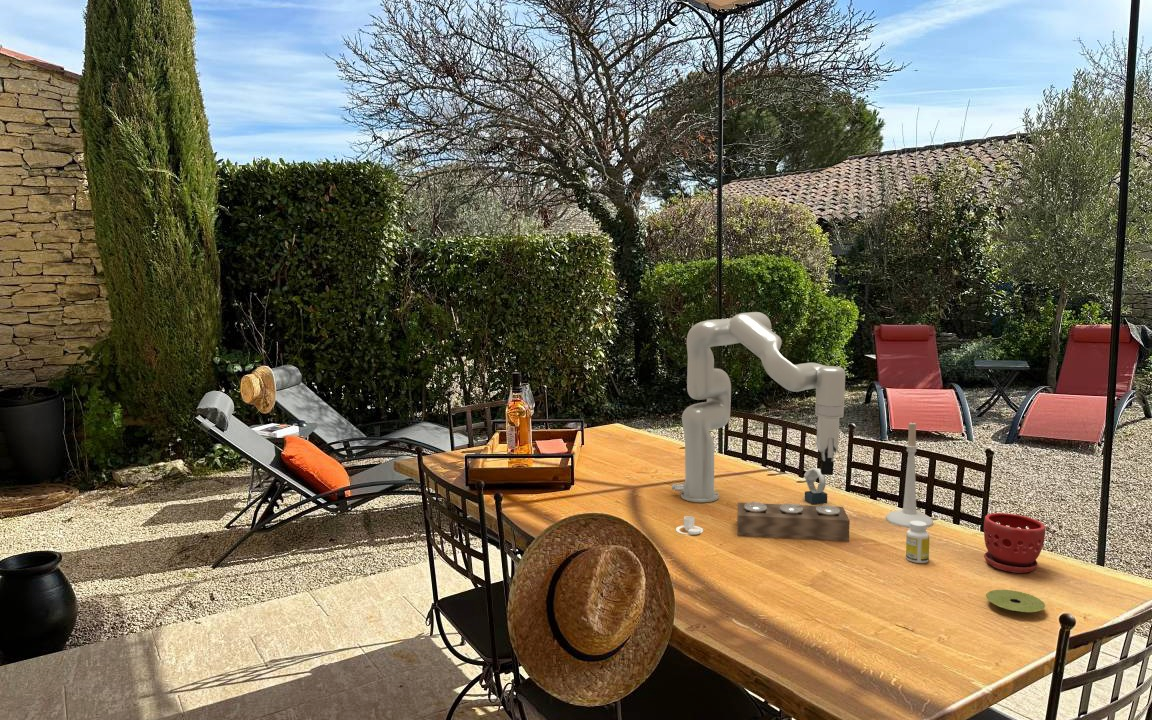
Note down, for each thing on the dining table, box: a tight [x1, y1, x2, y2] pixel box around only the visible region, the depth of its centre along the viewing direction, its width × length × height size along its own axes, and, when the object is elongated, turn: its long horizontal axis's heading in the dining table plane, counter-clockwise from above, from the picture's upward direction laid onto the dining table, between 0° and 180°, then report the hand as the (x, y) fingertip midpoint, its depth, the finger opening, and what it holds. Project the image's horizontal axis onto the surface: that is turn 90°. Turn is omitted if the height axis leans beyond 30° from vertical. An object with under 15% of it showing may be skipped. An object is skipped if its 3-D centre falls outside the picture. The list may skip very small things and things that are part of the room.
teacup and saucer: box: [675, 515, 704, 536], centre depth 216 cm, size 9×8×4 cm
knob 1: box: [744, 502, 767, 513], centre depth 216 cm, size 6×6×5 cm
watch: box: [803, 467, 828, 506], centre depth 240 cm, size 6×8×11 cm
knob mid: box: [780, 503, 803, 514], centre depth 214 cm, size 6×6×5 cm
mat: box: [985, 589, 1046, 613], centre depth 164 cm, size 11×11×2 cm
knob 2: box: [816, 504, 840, 516], centre depth 212 cm, size 6×6×5 cm
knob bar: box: [736, 502, 851, 542], centre depth 214 cm, size 30×12×6 cm, turn 79°
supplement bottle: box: [905, 521, 930, 564], centre depth 191 cm, size 5×5×10 cm
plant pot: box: [983, 512, 1046, 574], centre depth 186 cm, size 13×13×12 cm
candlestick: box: [885, 421, 934, 529], centre depth 219 cm, size 13×13×30 cm
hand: (826, 473), depth 211 cm, fingers closed
